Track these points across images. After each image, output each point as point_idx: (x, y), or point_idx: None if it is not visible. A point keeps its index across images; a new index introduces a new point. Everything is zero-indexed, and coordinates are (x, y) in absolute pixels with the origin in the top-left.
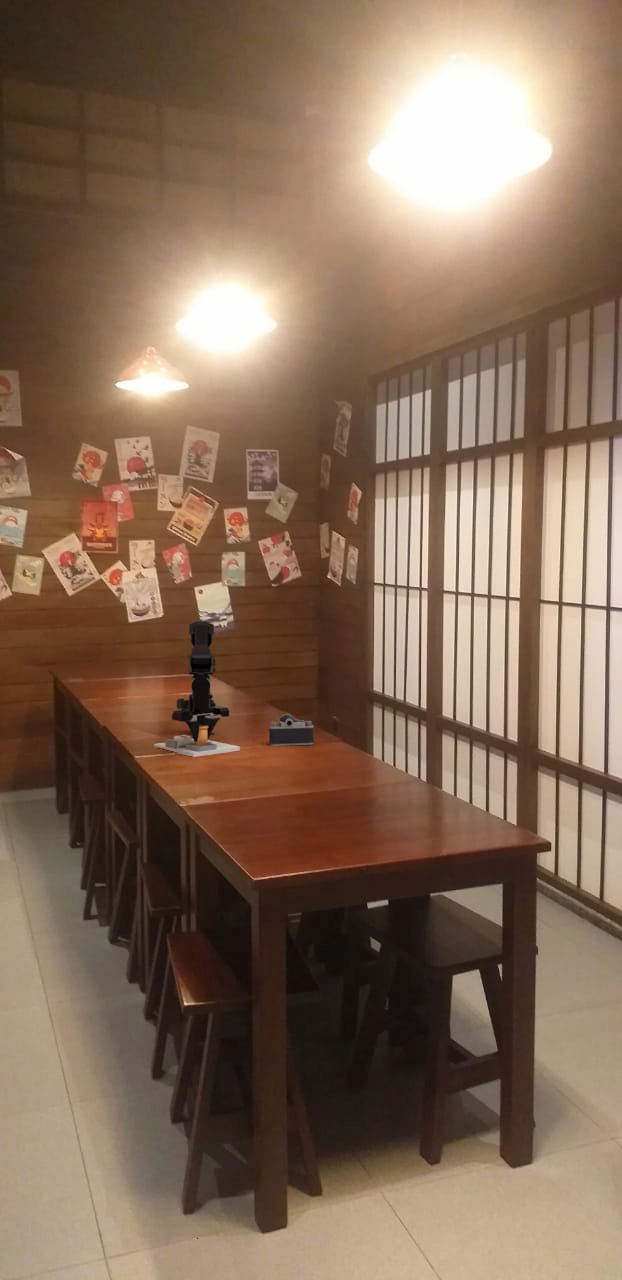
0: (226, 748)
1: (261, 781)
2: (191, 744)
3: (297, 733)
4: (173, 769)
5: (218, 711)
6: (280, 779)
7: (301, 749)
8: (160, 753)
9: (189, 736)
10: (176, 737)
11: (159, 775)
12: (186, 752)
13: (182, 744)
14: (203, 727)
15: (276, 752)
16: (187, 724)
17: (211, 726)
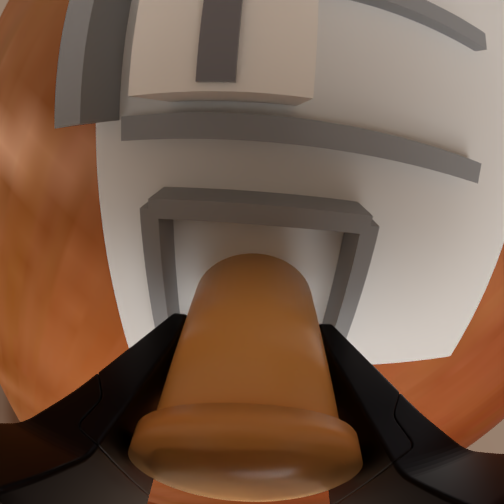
0: (377, 362)
1: (155, 491)
2: (207, 216)
3: None
4: (29, 386)
5: None
6: (188, 498)
7: (492, 401)
8: (40, 101)
9: (305, 68)
10: (139, 7)
11: (6, 389)
12: (115, 277)
13: (180, 98)
14: (214, 493)
15: (440, 415)
16: (16, 426)
17: (330, 493)
